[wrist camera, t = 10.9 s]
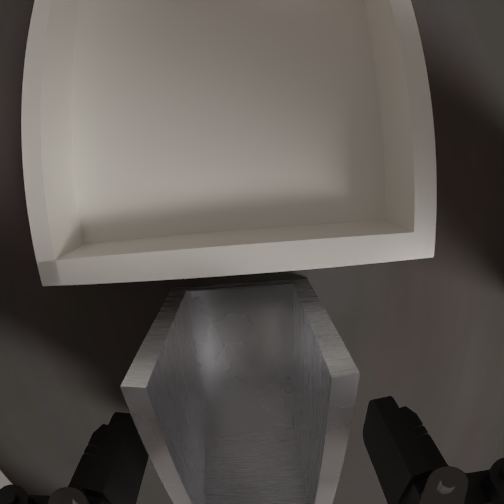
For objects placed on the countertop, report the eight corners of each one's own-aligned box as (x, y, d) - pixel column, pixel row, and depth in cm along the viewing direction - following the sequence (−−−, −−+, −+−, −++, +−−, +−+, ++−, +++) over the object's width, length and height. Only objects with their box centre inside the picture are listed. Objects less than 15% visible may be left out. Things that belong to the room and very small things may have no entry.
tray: (392, 235, 11) (433, 257, 8) (82, 259, 11) (42, 286, 8) (345, -77, 7) (363, -113, 4) (86, -52, 7) (61, -83, 4)
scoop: (303, 426, 14) (325, 525, 8) (203, 432, 14) (191, 533, 8) (306, 276, 12) (359, 373, 6) (173, 286, 12) (120, 386, 6)
